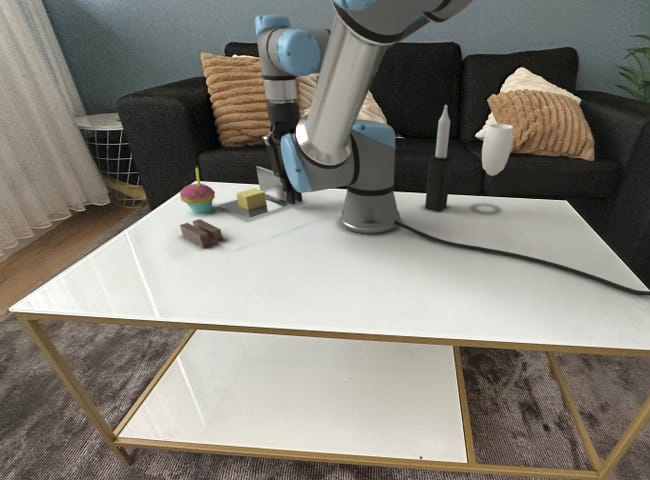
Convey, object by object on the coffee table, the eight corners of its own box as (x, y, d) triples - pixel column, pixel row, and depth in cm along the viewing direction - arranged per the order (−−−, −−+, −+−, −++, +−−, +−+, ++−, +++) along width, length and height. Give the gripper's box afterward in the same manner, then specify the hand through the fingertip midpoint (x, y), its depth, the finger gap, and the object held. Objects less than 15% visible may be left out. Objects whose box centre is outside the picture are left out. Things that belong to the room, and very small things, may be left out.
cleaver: (306, 207, 110) (304, 178, 105) (301, 209, 109) (298, 179, 104) (263, 191, 119) (259, 163, 114) (258, 192, 118) (254, 164, 113)
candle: (432, 203, 118) (441, 102, 102) (447, 207, 116) (460, 104, 100) (423, 208, 115) (431, 105, 98) (439, 212, 113) (450, 107, 96)
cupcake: (223, 207, 112) (212, 160, 105) (210, 218, 106) (197, 170, 98) (194, 205, 113) (180, 159, 105) (179, 217, 106) (164, 168, 99)
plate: (301, 203, 116) (301, 201, 116) (248, 220, 105) (247, 218, 105) (271, 191, 123) (271, 189, 122) (218, 207, 112) (218, 205, 112)
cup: (467, 207, 116) (479, 124, 102) (486, 202, 119) (500, 122, 105) (485, 215, 111) (500, 130, 98) (504, 210, 114) (521, 127, 101)
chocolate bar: (223, 241, 96) (220, 229, 94) (203, 248, 93) (199, 235, 91) (203, 230, 100) (199, 218, 98) (183, 237, 97) (179, 225, 95)
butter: (266, 204, 113) (264, 191, 111) (248, 210, 109) (245, 197, 107) (257, 200, 115) (254, 187, 113) (238, 206, 112) (236, 193, 109)
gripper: (296, 95, 102) (306, 192, 117) (246, 102, 93) (263, 205, 108) (316, 99, 98) (324, 198, 113) (266, 106, 89) (281, 212, 105)
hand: (294, 201), depth 111 cm, fingers closed on cleaver, 2 cm apart
